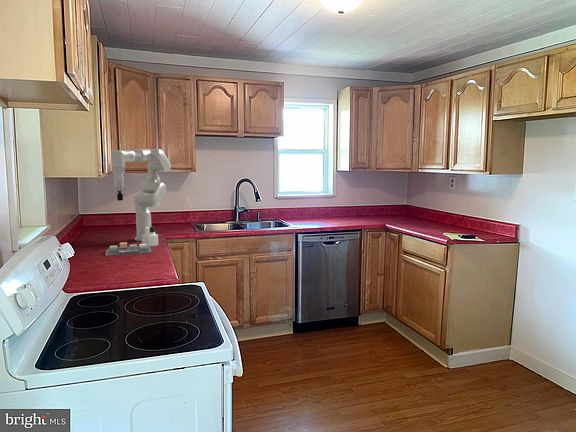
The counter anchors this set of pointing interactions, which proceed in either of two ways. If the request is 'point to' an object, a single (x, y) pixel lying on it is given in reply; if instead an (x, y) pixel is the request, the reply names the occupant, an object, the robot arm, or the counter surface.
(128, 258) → the counter surface
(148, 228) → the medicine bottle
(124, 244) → the terracotta key
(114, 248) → the sage key
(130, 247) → the slate key
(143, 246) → the cream key
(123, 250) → the keypad board
